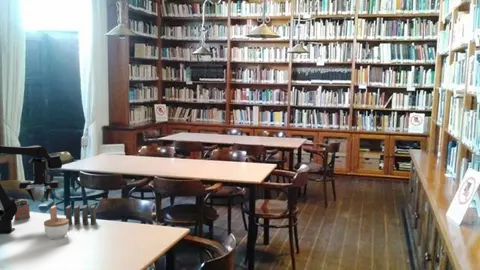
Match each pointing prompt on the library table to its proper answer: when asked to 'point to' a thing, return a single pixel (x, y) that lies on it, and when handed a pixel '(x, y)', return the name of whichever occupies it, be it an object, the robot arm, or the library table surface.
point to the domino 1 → (53, 212)
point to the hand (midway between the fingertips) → (40, 201)
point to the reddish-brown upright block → (22, 210)
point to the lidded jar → (56, 227)
